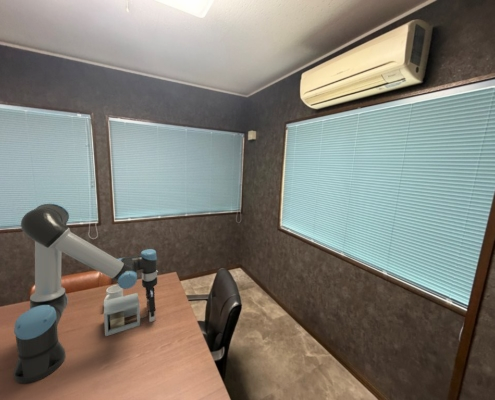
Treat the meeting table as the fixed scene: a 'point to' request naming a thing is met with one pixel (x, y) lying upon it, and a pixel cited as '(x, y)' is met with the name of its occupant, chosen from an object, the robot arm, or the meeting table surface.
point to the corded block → (118, 318)
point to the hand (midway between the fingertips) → (150, 314)
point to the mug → (113, 292)
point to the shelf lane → (122, 304)
